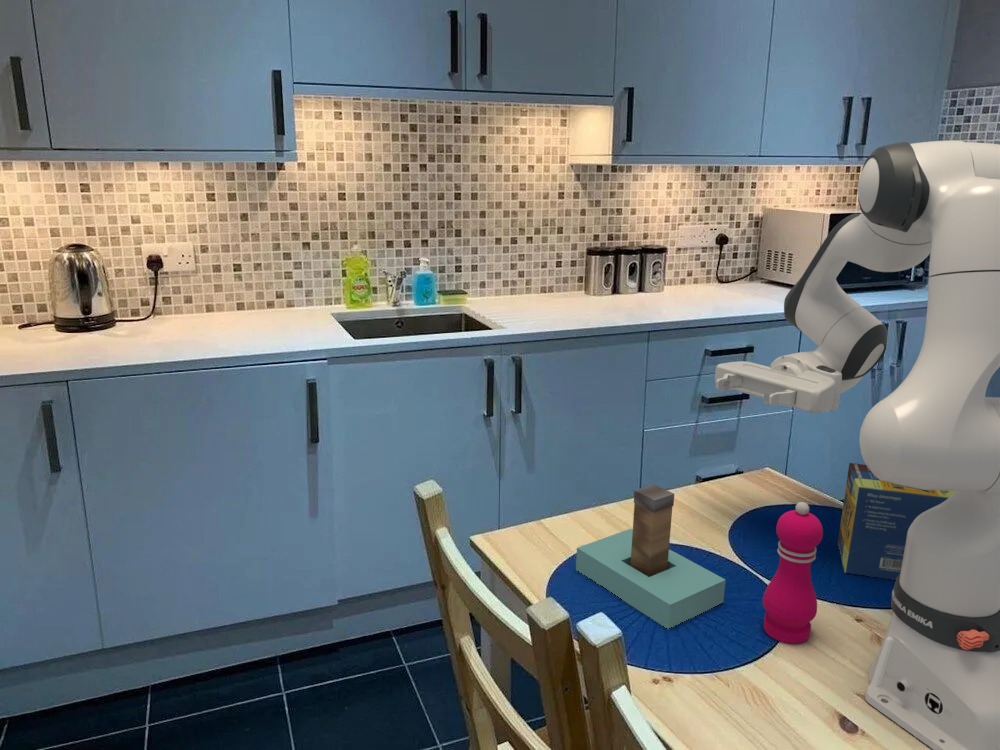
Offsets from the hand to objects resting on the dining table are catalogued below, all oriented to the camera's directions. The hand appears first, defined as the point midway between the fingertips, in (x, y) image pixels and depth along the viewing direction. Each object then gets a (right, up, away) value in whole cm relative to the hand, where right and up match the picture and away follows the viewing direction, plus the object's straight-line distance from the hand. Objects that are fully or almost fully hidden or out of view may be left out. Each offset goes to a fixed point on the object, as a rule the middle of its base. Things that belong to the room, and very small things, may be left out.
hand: (742, 392), depth 129 cm
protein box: (+25, -29, +4) cm, 39 cm away
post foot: (-16, -30, -4) cm, 34 cm away
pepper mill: (+2, -34, -15) cm, 37 cm away
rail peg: (-16, -30, -4) cm, 34 cm away
